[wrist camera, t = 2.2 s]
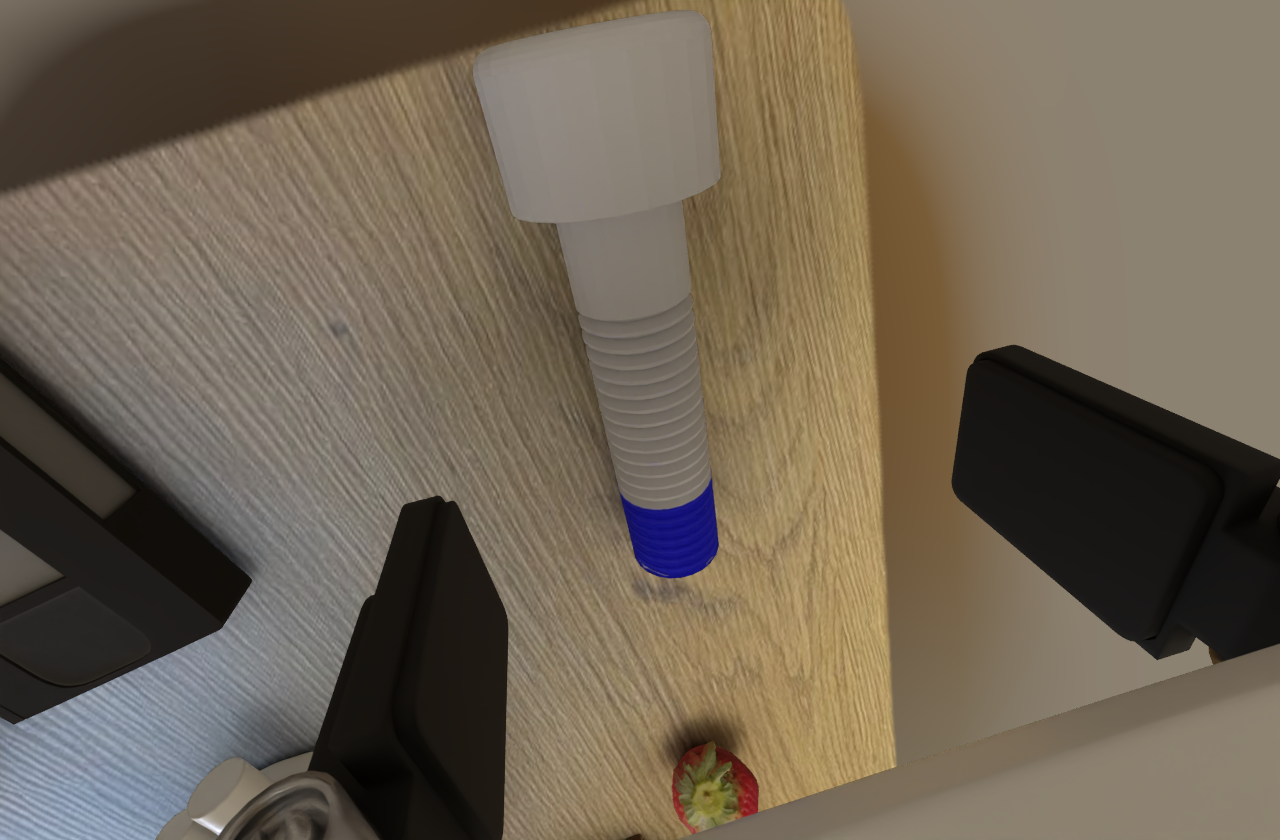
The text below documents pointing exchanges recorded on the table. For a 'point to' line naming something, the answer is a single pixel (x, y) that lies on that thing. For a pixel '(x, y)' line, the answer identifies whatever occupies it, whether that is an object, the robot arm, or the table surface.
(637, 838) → the shelf
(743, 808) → the fruit
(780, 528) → the table surface
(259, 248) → the table surface
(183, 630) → the vhs tape
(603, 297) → the bolt
